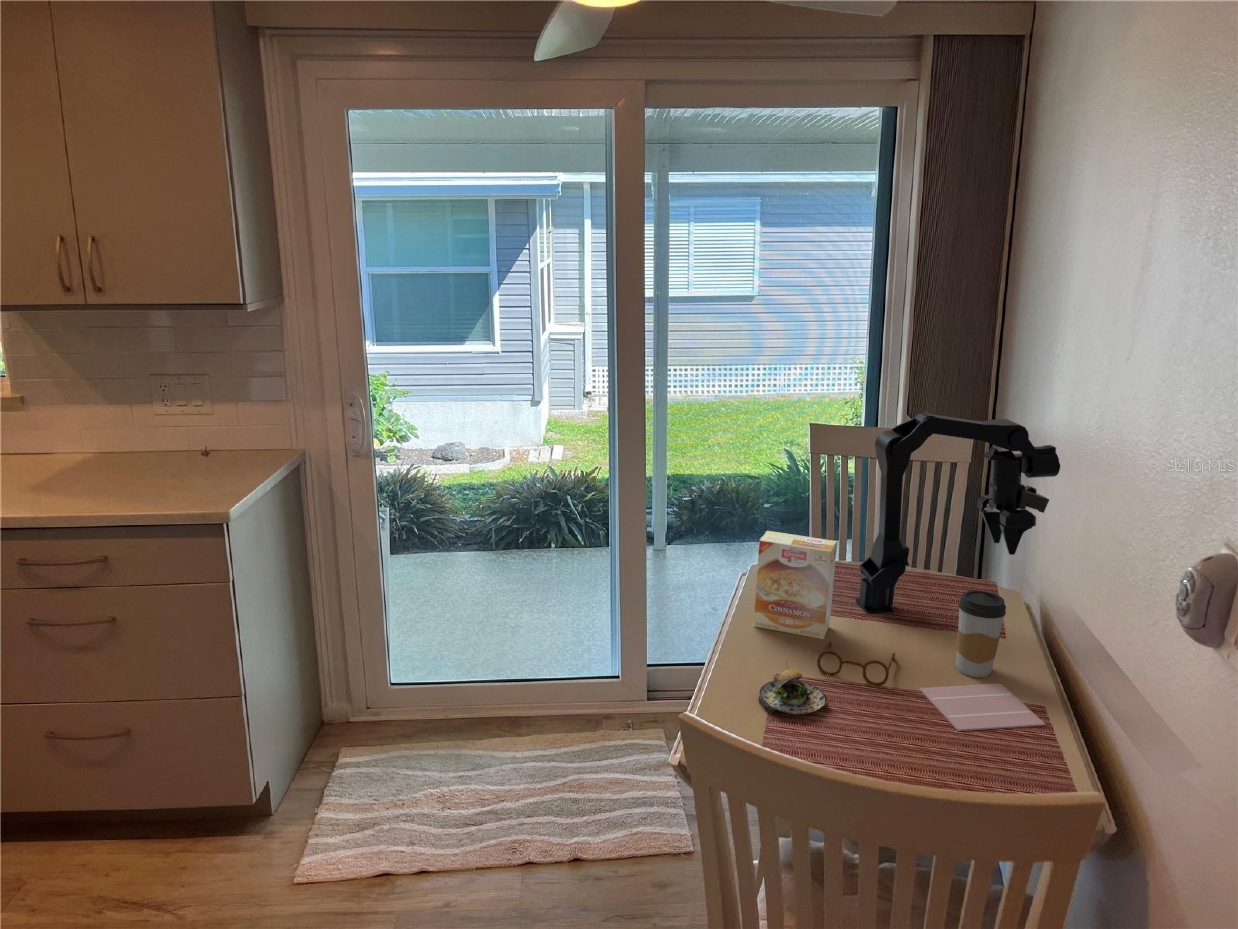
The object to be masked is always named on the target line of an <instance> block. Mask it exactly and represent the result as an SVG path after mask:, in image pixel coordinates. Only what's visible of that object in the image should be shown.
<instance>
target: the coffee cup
mask: <svg viewBox="0 0 1238 929" xmlns="http://www.w3.org/2000/svg"><path fill="white" fill-rule="evenodd" d="M958 607H959V610H958V626H957V636H956V638H957V639H956V660H955V662H956V664H955V665H956V667H957V670H958V671H959V672H960V673H962V674H964V675H966V676H969V677H973V678H985V677H988V676H989V675H990V674H991V673H992V670H993V666H994V661H995V658H996V656H997V650H998V646H999V642H1000V637H1001V630H1002V626H1003V622H1004V618H1005V616H1006V614H1007V611H1006V609H1007V605H1006V604H1005V599H1004V598H1003V597H1002V596H1000V595H999V594H996V593H994V592H990V591H986V590H979V589H978V590H977V589H976V590H975V589H973V590H972V589H971V590H967V591H964V592H963V594H962V597H960V599H959V604H958Z"/></svg>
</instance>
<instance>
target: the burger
mask: <svg viewBox="0 0 1238 929" xmlns="http://www.w3.org/2000/svg"><path fill="white" fill-rule="evenodd" d="M785 661H786V662H785V663H786V664H788V661H787V659H786V660H785ZM788 667H789V666H788V665H786V668H787V669H786V670H784V671H783V672H782V673H781V674H780V675H779V677H778V678H777V679H775V680H773V681H772V680H771V681H768V682H766V683H765V684H763V685H762V686H761V687H760V690H759V696H758V703H759V705H760V706H761V707H762V708H763V710H764V711H766V712H767V713H768V714H770V715H773V714H774V712H775V711H778V712H780V713H783V714H790V715H804V714H810V713H813V712H814V713H815V712H816V711H819V710H820V709H821V708H823V707H824V706H826V703H827V702H828V696H827V695H826V694H824V693H823V690H822V689H821V690H820V689H819V687H817V686H815V685H813V684H810V683H808V682H804V681H801V680H800V679H802V678H803V675H802V673H801V672H800V671H798V670H797V669H788Z"/></svg>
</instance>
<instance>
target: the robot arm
mask: <svg viewBox="0 0 1238 929" xmlns="http://www.w3.org/2000/svg"><path fill="white" fill-rule="evenodd" d="M932 435H939V436H947V437H954V438H961V439H965V440H966V439H968V440H975V441H981V442H985V443H987V444H990V445H993V446H996V447H998V448H1001V449H1003V450H998V449H997V448H995V447H990V449H989V450H988V451H986V452H985V453H984V454H983V455H982V457H983V459H986V460H989V461H992V481H989V484H988V486H989V487H990V488H991V494H989V495H988V494H987V495H986V494H985V495H983V494H982V495H981V496H980V497H979V498H978V499H977V508H978V509H979V513H980V514H981V516H982V519H983V520H984V523H985V525H986V528H987V530H988V532H989V534H990V537H991V539H992V542H993V543H995V544H1000V542H1001V537H1003V539H1004V543H1005V546H1006V549H1007V552H1008V555H1010V556H1012V555H1013V556H1014V555H1016V552H1017V549H1018V547H1019V545H1020V541H1021V538H1022V537H1023V534H1024V533H1026V532H1027V531H1028V530H1031V529H1032V528H1033V527H1036V524H1037V517H1036V515H1035V514H1033V512H1031V511H1029V510H1027V509H1026V508H1029V509H1033V510H1035V511H1038V512H1039V513H1042V514H1044V513H1045V511H1046V508H1047V506H1048V504H1049V502H1050V499H1049V498H1048V497H1046V496H1045V495H1044V496H1043V495H1041V494H1039V493H1037V492H1038V491H1037V488H1035V487H1034V486H1030V485H1026V486H1025V484H1023V483H1022V474H1024V476H1025V477H1026V478H1028V479H1034V478H1049V477H1050V478H1051V477H1053V478H1054V477H1057V476H1058V475H1059V474H1060V470H1061V463H1060V459H1059V455H1058V454H1057V452H1056V451H1057V447H1056V446H1054V445H1051V444H1045V445H1041V446H1040V445H1039V446H1035V445H1034V444H1032V442H1031V440H1030V439H1029V436H1030V435H1029V431H1028V430H1027V427H1025V426H1023V425H1021V424H1019V423H1017V422H1014V421H1013V420H1010V419H1007V418H1006V419H1005V418H1002V419H999V418H997V419H989V420H974V419H972V420H971V419H967V418H959V417H953V416H952V417H951V416H946V415H940V414H939V415H937V414H932V413H929V412H926V411H925V412H920V413H919V414H918V413H917V415H915V416H914V417H912V418H911V419H909V420H905V421H904V422H902V423H899V424H897V425H895V426H894V427H893V428H891V429H890V430H885V431H883V432H881V433H880V434H879V435H878V436H877V437H876V438H875V442H874V447H875V454H876V461H877V463H878V467H879V470H880V490H879V491H880V493H879V494H880V495H879V514H878V515H879V516H878V520H879V521H878V534H877V537H876V538H875V539H874V542H873V544H872V548H871V552H870V556H869V557H867V558H866V559H865V560H864V561H863V562H861V564H859V566H858V568H859V570H860V574H861V575H863V577H864V578H863V577H862V578H861V579H860V585H859V595H858V596H859V597H858V598H856V599H855V602H856V604H858V606H859V607H860V608H861V609H862V610H863V611H864V612H865V613H869V614H870V613H889V612H890V613H893V612H894V611H895V609H894V608H893V607H892V606H893V605H894V597H895V587H896V584H897V582H898V581H899V579H900V578H901V576H903V575H904V574H905V572H906V570H907V567H909V566H910V564H909V554H910V548H909V546H908V545H907V544H905V543H904V542H903V541H902V540H901V522H902V521H901V520H902V502H903V500H902V499H903V482H904V474H905V473H906V471H907V469H908V467H909V465H910V461H911V457H912V453H914V452H916V451H917V450H918V449H920V448H921V447H922V446H923V444H925V442H926V441H927V440H928V439H929V437H931V436H932ZM1014 452H1020V453H1014Z"/></svg>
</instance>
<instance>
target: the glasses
mask: <svg viewBox="0 0 1238 929" xmlns="http://www.w3.org/2000/svg"><path fill="white" fill-rule="evenodd" d="M831 646H832V641H831V640H829V641H828V642H827V644H826V646H825V648H824V649H823V650H822V651H821V653H819V654H818V657H817V660H816V665H817V669H818V670H819V672H821V674H823V675H825V674H826V675H825V676H828V675H830V676H829V677H834V676H837V675H839V674H840V673H841V671H842V668H843V665H844V664H848V665H852V666H858V667H860V668H862V676H863V680H864V681H865V683H867V684H869V685H871V686H876V687H881V686H884V684H886V683H887V681H888V679H889V676H890V669H891V667H892V665H893V662H894V660H895V657H896V653H895V652H893V653H892V655H891V657H890V661H889V663H888V665H886V664H885V663H884V662H882V661H880V660H877V659H873V660H872V659H871V660H868V661H866V662H865V663H864V664H863V663H862V662H859V661H854V660H849V659H845V660H843V658H842V656H841V655H840V654H839V653H837V652H836V651H833V650H828V649H829V648H831ZM825 655H832V656H834V657H836V658H837V660H838V662H839V666H838V669H836V671H834V672H829V671H826V670H825V669H823V668H822V665H821V660H822V658H823V656H825ZM873 664H877V665H880V666H881V667H882V668H883V669H884V672H885V677H884V679H883V680H882V681H879V682H875V681H871V680H870V679H869V677H868V676H867V668H868V666H869V665H873ZM827 674H828V675H827Z"/></svg>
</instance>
